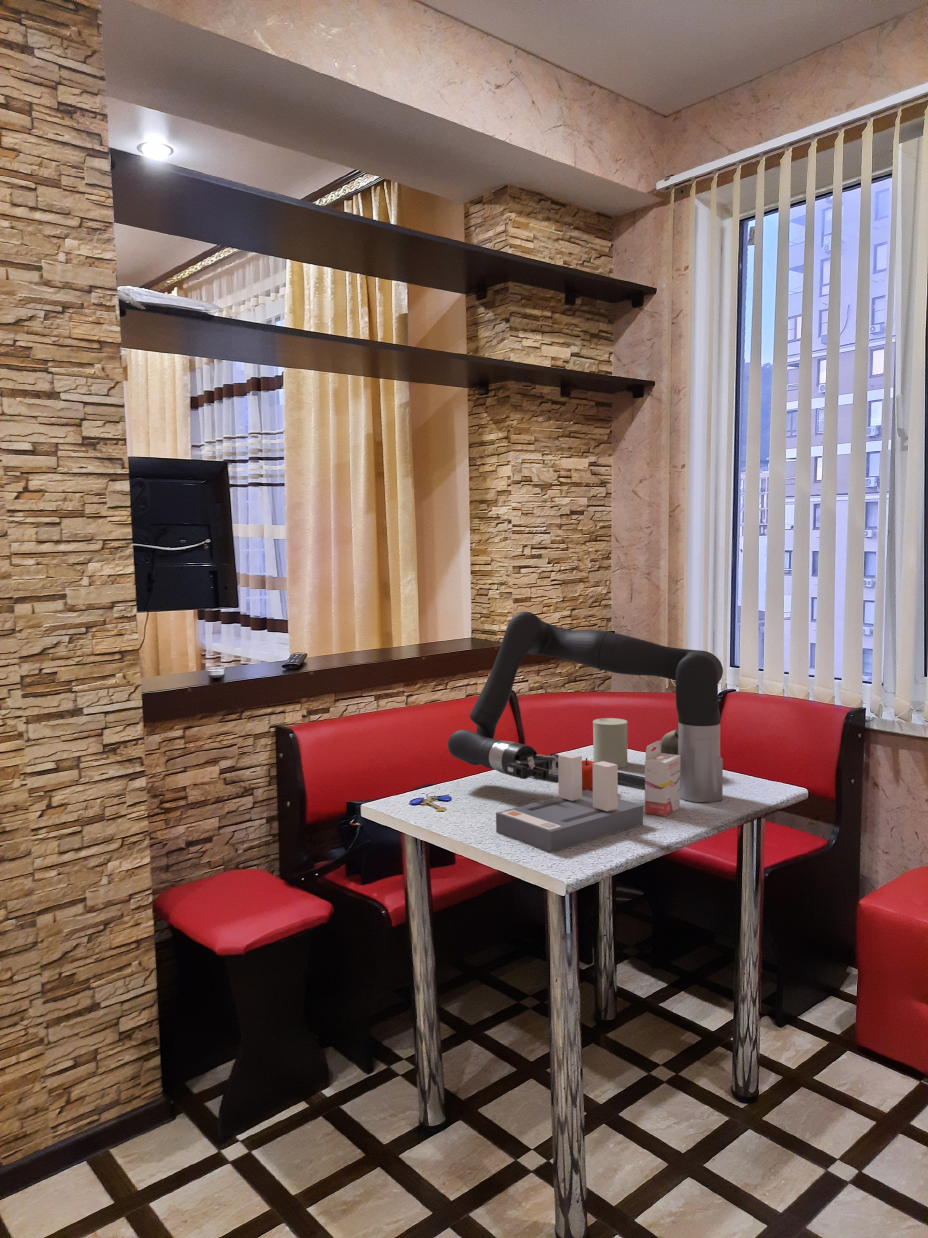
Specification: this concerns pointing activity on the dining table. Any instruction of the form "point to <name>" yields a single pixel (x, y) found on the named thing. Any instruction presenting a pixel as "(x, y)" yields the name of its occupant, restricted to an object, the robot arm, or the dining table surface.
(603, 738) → the can
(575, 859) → the dining table surface
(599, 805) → the switch tab
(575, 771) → the switch tab
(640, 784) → the phone
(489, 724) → the robot arm
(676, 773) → the ink cartridge box
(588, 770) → the apple
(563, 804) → the block
